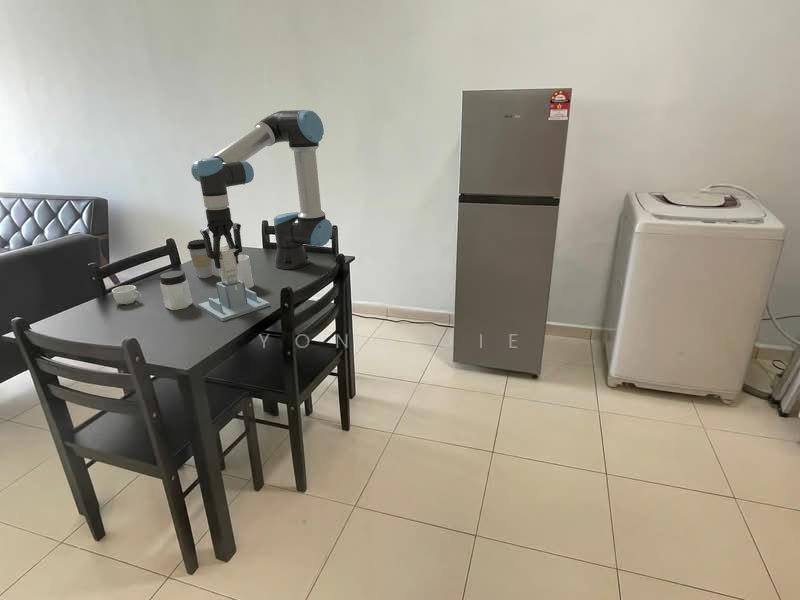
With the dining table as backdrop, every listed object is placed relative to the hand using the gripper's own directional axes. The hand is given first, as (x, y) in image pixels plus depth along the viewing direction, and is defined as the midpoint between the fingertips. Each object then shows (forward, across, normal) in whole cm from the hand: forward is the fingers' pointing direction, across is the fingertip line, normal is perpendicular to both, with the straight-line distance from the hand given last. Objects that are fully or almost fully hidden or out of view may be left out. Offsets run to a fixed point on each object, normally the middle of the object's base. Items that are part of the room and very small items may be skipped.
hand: (228, 274), depth 158 cm
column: (+10, 0, 0) cm, 10 cm away
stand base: (+12, 0, 0) cm, 12 cm away
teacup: (+12, +24, -33) cm, 43 cm away
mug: (+12, -11, -16) cm, 23 cm away
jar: (+12, +13, -16) cm, 24 cm away
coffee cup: (+12, -8, -41) cm, 44 cm away
